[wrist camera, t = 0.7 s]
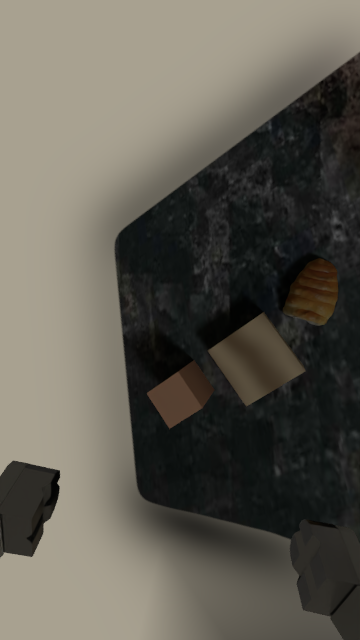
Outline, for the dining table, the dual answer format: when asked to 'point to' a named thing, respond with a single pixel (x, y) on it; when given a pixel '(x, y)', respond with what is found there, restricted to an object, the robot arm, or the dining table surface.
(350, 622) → the robot arm
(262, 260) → the dining table surface
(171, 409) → the reddish brown block
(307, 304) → the pastry
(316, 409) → the dining table surface
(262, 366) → the oak base block
